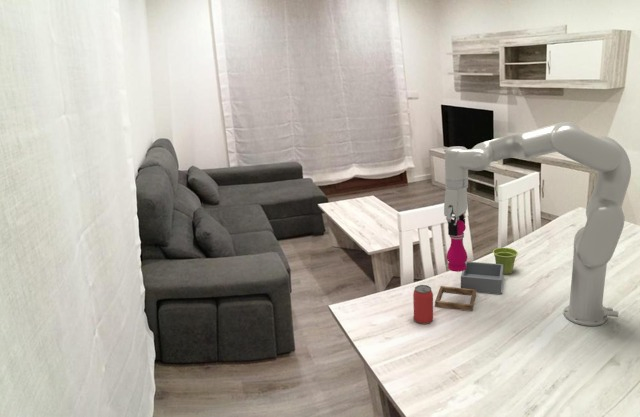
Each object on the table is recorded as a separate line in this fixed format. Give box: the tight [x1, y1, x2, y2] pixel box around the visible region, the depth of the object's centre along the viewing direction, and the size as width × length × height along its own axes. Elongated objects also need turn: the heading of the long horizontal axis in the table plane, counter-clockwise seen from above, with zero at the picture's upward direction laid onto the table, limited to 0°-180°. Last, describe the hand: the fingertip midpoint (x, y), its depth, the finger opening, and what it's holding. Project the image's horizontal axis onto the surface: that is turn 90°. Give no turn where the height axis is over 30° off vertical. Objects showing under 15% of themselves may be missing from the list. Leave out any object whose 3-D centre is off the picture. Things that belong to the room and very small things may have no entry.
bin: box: [460, 260, 504, 295], centre depth 188 cm, size 15×15×6 cm
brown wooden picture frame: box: [434, 285, 477, 312], centre depth 178 cm, size 13×13×2 cm
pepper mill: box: [446, 216, 468, 273], centre depth 172 cm, size 7×7×20 cm
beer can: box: [412, 284, 434, 325], centre depth 166 cm, size 7×7×12 cm
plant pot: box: [492, 247, 519, 275], centre depth 197 cm, size 9×9×9 cm
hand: (456, 231), depth 170 cm, fingers closed on pepper mill, 6 cm apart
